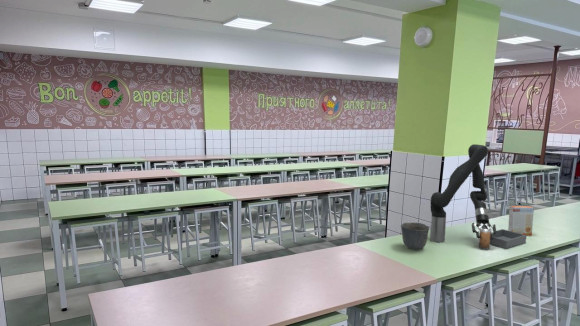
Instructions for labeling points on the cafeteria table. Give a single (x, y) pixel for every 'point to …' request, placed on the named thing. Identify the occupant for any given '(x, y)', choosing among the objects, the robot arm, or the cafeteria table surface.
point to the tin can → (484, 238)
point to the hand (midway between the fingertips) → (485, 238)
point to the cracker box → (521, 219)
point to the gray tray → (507, 239)
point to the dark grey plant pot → (414, 235)
